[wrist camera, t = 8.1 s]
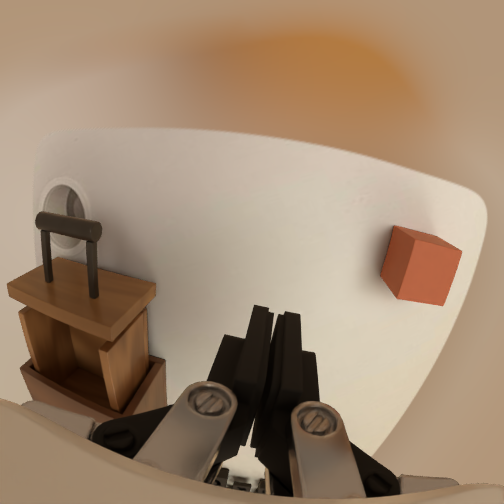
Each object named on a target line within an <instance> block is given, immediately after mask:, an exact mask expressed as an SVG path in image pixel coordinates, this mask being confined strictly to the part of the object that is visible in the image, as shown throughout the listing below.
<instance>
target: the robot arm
mask: <svg viewBox="0 0 504 504" xmlns="http://www.w3.org/2000/svg"><path fill="white" fill-rule="evenodd" d="M268 311H269V308H267V307H262V306H258V305H254V307H253V311H252V315H251V319H250V322H249V326H248V330H247V334H246V338H245V339H243V338H239V337H234V336H230V335H226V334H225V335H224V337H223V339H222V342H221V345H220V347H219V350H218V352H217V355H216V358H215V360H214V363H213V366H212V368H211V371H210V373H209V376H208V379H207V381H201V382H196V383H194V384H191V385H189V386H188V387H187V388H186V389H185V390H184V391H183V393H182V394H181V395H180V397H179V398H178V399H177V401H176V402H175V404H172V405H169V406H165V407H162V408H158V409H155V410H151V411H147V412H143V413H139V414H135V415H131V416H126V417H122V418H118V419H113V420H109V421H106V422H103V423H99V422H95V419H94V418H92V417H88V416H84V415H81V414H77V413H74V412H71V411H67V410H64V409H61V408H58V407H55V406H52V405H49V404H47V403H44V402H41V401H35V400H33V401H27V402H26V403H23V404H22V405H18V404H16V403H13V402H10V401H7V400H4V399H0V504H504V486H502V485H496V484H488V483H481V484H479V483H477V484H464V485H459V484H458V482H457V481H455V480H453V479H450V478H439V477H423V476H412V475H403V474H401V475H400V476H399V477H396V476H395V475H394V474H393V473H392V472H391V471H390V470H388V469H387V468H386V467H384V466H383V465H381V464H380V463H378V462H377V461H376V460H374V459H373V458H372V457H370V456H369V455H367V454H366V453H365V452H363V451H362V450H361V449H359V448H358V447H357V446H355V445H354V444H353V443H351V442H350V441H349V439H348V436H347V433H346V430H345V427H344V423H343V420H342V418H341V416H340V414H339V413H338V412H337V411H336V410H335V409H334V408H332V407H331V406H329V405H327V404H325V403H322V402H320V398H319V386H318V374H317V364H316V355H315V353H314V352H308V351H303V350H302V341H301V319H300V314H296V313H291V312H286V311H285V313H284V315H281V314H278V317H277V321H276V325H275V328H274V332H273V336H272V339H271V334H272V326H273V317H274V313H272V312H268ZM270 342H271V343H270ZM254 418H255V421H254ZM253 421H254V427H253V433H252V438H251V444H250V447H251V448H256V452H255V457H258V460H259V461H260V462H261V463H262V464H263V465H264V466H265V473H264V474H265V489H266V494H259V493H252V492H246V491H240V490H235V489H230V488H225V487H220V486H215V485H213V484H214V482H215V479H216V477H217V475H218V473H219V471H220V469H221V467H222V464H223V461H225V460H227V459H230V458H232V457H234V456H236V455H237V453H238V450H239V447H240V445H241V446H245V445H246V442H247V439H248V436H249V433H250V430H251V427H252V424H253Z"/></svg>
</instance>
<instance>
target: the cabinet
mask: <svg viewBox="0 0 504 504" xmlns="http://www.w3.org/2000/svg"><path fill="white" fill-rule="evenodd" d="M148 356H149V371H150V372H149V373H148V375H147V376H146V378H145V380H144V381H143V383H142V384H141V386H140V387H139V389H138V391H137V392H136V394H135V395H134V397H133V399H132V400H131V402H130V403H129V405H128V406H127V408H126V410H125V411H124V413H123V415H122V414H120V413H117V412H115V411H112V410H110V409H108V408H105V407H103V406H101V405H99V404H97V403H94V402H92V401H90V400H88V399H86V398H84V397H82V396H80V395H78V394H76V393H74V392H72V391H70V390H68V389H66V388H64V387H62V386H60V385H59V384H57V383H55V382H53V381H51V380H50V379H48V378H46V377H44V376H43V375H41V374H39V373H38V372H36V371H35V368H34V365H33V362H32V359H31V358H30V359H29V360H28V361H27V362H26V363H25V364H24V365H22V366H21V367H20V370H21V373H22V375H23V378H24V380H25V383H26V385H27V388H28V390H29V392H30V394H31V397H32V399H33V400H35V401H41V402H44V403H47V404H49V405H52V406H55V407H58V408H61V409H64V410H67V411H71V412H74V413H77V414H81V415H84V416H88V417H92V418H94V419H95V422H99V423H103V422H106V421H109V420H113V419H118V418H122V417H126V416H131V415H135V414H139V413H143V412H147V411H151V410H155V409H158V408H162V407H165V406H167V396H166V365H165V360H164V359H161V358H157V357H154V356H151V355H148Z"/></svg>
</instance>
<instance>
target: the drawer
mask: <svg viewBox="0 0 504 504" xmlns="http://www.w3.org/2000/svg"><path fill="white" fill-rule="evenodd" d="M35 224H36V227H37V228H38V229H40V230H41V245H42V257H43V265H41V266H39V267H37V268H35V269H33V270H31V271H29V272H28V273H26V274H24V275H22V276H20V277H18V278H16V279H14V280H13V281H11V282H9V283H7V289H8V293H9V296H10V297H11V298H13V299H15V300H17V301H19V302H21V303H23V304H25V305H27V306H26V307H24V308H23V309H22V310H20V311H19V312H18V313H19V318H20V321H21V325H22V329H23V332H24V336H25V340H26V343H27V347H28V350H29V352H30V356H31V359H32V362H33V365H34V368H35V371H36V372H38V373H39V374H41V375H43V376H44V377H46V378H48V379H50V380H51V381H53V382H55V383H57V384H59V385H60V386H62V387H64V388H66V389H68V390H70V391H72V392H74V393H76V394H78V395H80V396H82V397H84V398H86V399H88V400H90V401H92V402H94V403H97V404H99V405H101V406H103V407H105V408H108V409H110V410H112V411H115V412H117V413H120V414H122V415H123V413H124V411H125V410H126V408H127V406H128V405H129V403H130V402H131V400H132V399H133V397H134V395H135V394H136V392H137V391H138V389H139V387H140V386H141V384H142V383H143V381H144V380H145V378H146V376H147V375H148V373H149V372H150V371H149V356H148V334H147V309H145V308H144V307H145V306H146V305H147V304H148V303H149V302H150V301H151V300H152V299H153V298H154V297H155V296H156V283H152V282H148V281H144V280H140V279H136V278H132V277H128V276H125V275H121V274H117V273H113V272H109V271H106V270H102V269H98V268H97V241H98V240H99V239H100V237H101V235H102V225H101V223H100V222H97V221H92V220H87V219H81V218H76V217H70V216H65V215H60V214H54V213H49V212H44V211H41V212H39V213H38V214H37V216H36V220H35ZM50 232H52V233H57V234H61V235H65V236H69V237H73V238H78V239H82V240H86V255H87V265H84V264H81V263H77V262H74V261H70V260H67V259H64V258H60V257H57V258H55V259H53V260H52V259H51V246H50Z"/></svg>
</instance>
